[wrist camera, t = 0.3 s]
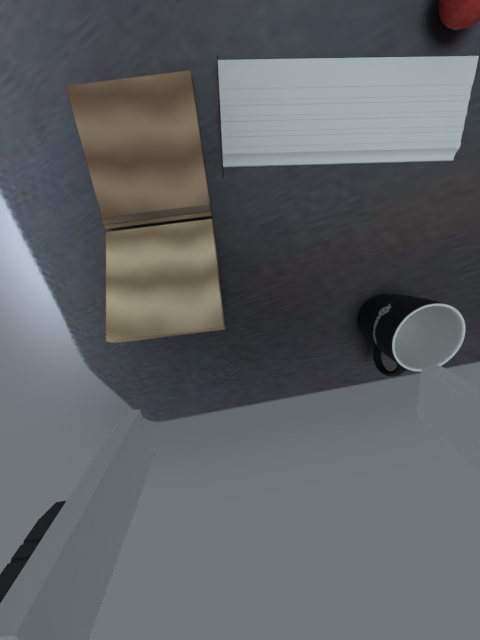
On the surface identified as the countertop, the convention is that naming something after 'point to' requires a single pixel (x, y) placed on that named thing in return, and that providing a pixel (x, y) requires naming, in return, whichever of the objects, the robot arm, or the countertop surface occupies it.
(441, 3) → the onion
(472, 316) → the countertop surface
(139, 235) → the oak plank
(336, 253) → the countertop surface
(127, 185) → the walnut board
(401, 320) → the mug
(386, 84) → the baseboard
